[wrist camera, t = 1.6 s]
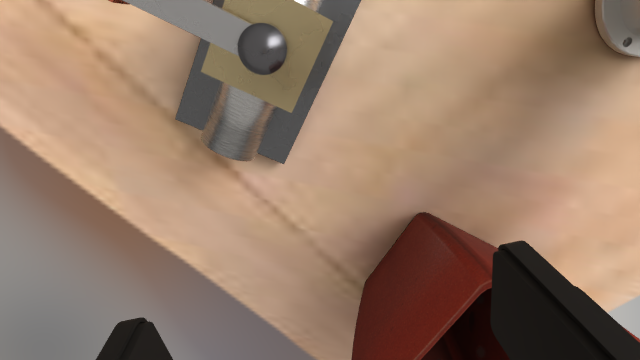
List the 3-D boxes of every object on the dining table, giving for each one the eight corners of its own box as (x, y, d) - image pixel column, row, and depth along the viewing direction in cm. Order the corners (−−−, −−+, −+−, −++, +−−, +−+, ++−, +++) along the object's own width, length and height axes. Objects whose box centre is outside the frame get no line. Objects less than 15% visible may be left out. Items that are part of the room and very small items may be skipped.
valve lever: (294, 36, 23) (294, 37, 21) (276, 78, 24) (275, 83, 22) (49, -90, 19) (20, -104, 17) (41, -34, 20) (13, -41, 18)
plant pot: (326, 294, 44) (343, 438, 28) (411, 174, 37) (493, 276, 22) (441, 338, 49) (508, 481, 33) (533, 238, 42) (668, 359, 27)
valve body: (256, -118, 26) (239, -182, 18) (378, -43, 29) (411, -69, 21) (179, 115, 33) (143, 143, 25) (284, 158, 36) (281, 197, 28)
